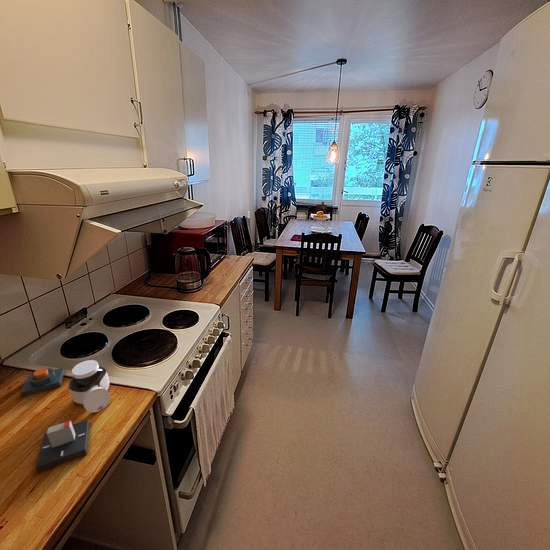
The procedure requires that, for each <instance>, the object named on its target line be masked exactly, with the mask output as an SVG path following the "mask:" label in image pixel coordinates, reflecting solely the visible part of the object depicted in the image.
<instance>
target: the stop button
mask: <svg viewBox="0 0 550 550" xmlns="http://www.w3.org/2000/svg"><path fill="white" fill-rule="evenodd" d="M47 368H48V367H42V368H38V369H36V370H35V371H34V372H33V373H34V377H35V379H37V380H38V379H42V378H44V377H46V376H47V375H48V374H49V373H48V370H47Z"/></svg>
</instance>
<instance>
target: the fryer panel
mask: <svg viewBox="0 0 550 550" xmlns="http://www.w3.org/2000/svg"><path fill="white" fill-rule="evenodd" d="M72 426H73V428H74V431H75V440H74V441H71V442H68V443H65V444H62V445H59V446H56V447H53V448H52V446H51V443H50V441H49V438H48V436H47V432H44V434H43V438H42V442H41V446H40V449H39V454H38V458H37V461H36V465H35V469H36V470H37V472H38V473H42V472H43V471H47V470H49V469H51V468H54V467H58V466H60V465H63V464H65V463H69V462H71V461H74V460H77V459H79V458H82V457H85V456H86V455H88V448H89V437H90V428H91V427H90V426H91V424H90V421H89V419H85V420H82V421H79V422H76V423H72Z"/></svg>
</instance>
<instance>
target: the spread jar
mask: <svg viewBox="0 0 550 550" xmlns="http://www.w3.org/2000/svg"><path fill="white" fill-rule="evenodd" d="M71 374H72V377H71V379H70V380H69V384H68V390H69V393H70V396H71V399H72V400H73V402H74V403H76V404H78V405H82V406H83V408H84V409H85V410H86V411H88V412H89V413H98V412H100V411H102V410H103V409H105V408H106V407H107V406H108V405H109V402H110V400H111V399H110V398H111V395H110V392H109V388H110V378H109V375H108V371H107V369H106V368H104V367H103V366H100V365H99V363H98V361H97V360H94V359H89V360H84V361H81V362H79V363H77V364H75V365H74V366H73V368H72V369H71Z"/></svg>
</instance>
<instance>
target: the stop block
mask: <svg viewBox="0 0 550 550" xmlns="http://www.w3.org/2000/svg"><path fill="white" fill-rule="evenodd" d="M46 368H47V370H48V373H49V374H48V375H47V376H46V377H44V378H42V379H38V380H37V379H35V377H34V372H33V373H32V374H30V375H28V376H27V377H26V379H25V381H24V383H23V386H22V389H21V391H20V393H21V396H22V397H27V396H30V395H34V394H38V393H41V392H45V391H50V390H53V389H57V388H59V387H62V384H63V380H64V375H65V369H64V367H59V368H56V369H55V368H54V369H53V368H52V367H51V368H49V367H46Z"/></svg>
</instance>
